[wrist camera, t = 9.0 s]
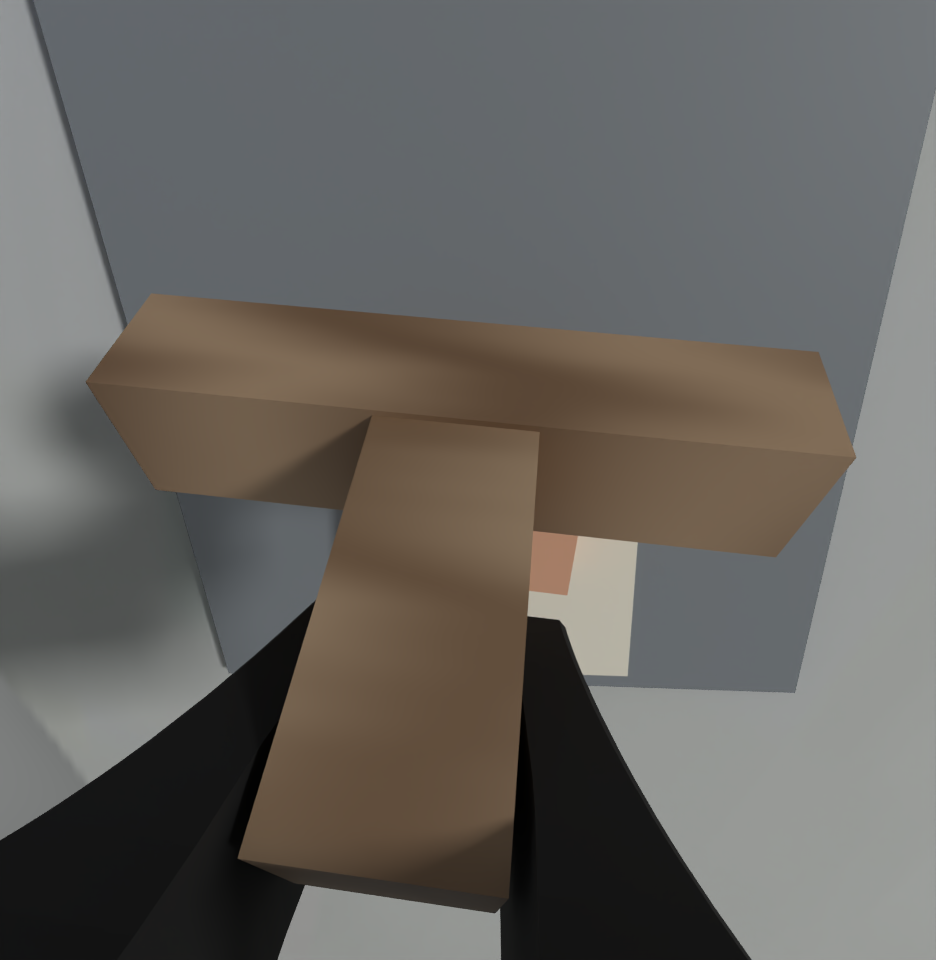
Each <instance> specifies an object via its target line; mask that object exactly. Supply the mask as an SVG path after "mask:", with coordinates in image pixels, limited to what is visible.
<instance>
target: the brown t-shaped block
mask: <svg viewBox="0 0 936 960" xmlns="http://www.w3.org/2000/svg"><path fill="white" fill-rule="evenodd" d="M86 384H87V385H88V387H89V388H90V390H91V391H92V393H93V394H94V396H95V397H96V399H97V400H98V402H99V404H100V405H101V407H102V408H103V410H104V411H105V413H106V414H107V416H108V417H109V419H110V420H111V422H112V423H113V425H114V427H115V428H116V430H117V431H118V433H119V434H120V436H121V437H122V439H123V440H124V442H125V443H126V445H127V446H128V448H129V450H130V451H131V453H132V454H133V456H134V457H135V459H136V460H137V462H138V463H139V465H140V466H141V468H142V470H143V471H144V473H145V474H146V476H147V477H148V479H149V480H150V482H151V483H152V485H153V486H154V488H155V489H156V490H162V491H171V492H180V493H190V494H199V495H208V496H217V497H226V498H235V499H245V500H254V501H263V502H272V503H281V504H290V505H300V506H309V507H318V508H327V509H336V510H343V513H342V516H341V519H340V523H339V526H338V529H337V532H336V536H335V539H334V542H333V546H332V549H331V552H330V555H329V559H328V562H327V565H326V569H325V572H324V575H323V578H322V582H321V585H320V588H319V592H318V595H317V598H316V601H315V605H314V608H313V611H312V615H311V618H310V621H309V625H308V628H307V631H306V634H305V638H304V641H303V644H302V648H301V651H300V654H299V657H298V661H297V664H296V667H295V671H294V674H293V677H292V680H291V684H290V687H289V690H288V694H287V697H286V700H285V703H284V707H283V710H282V713H281V717H280V720H279V723H278V726H277V730H276V733H275V736H274V740H273V743H272V746H271V749H270V753H269V756H268V759H267V763H266V766H265V769H264V773H263V776H262V779H261V782H260V786H259V789H258V792H257V796H256V799H255V802H254V805H253V809H252V812H251V815H250V819H249V822H248V825H247V828H246V832H245V835H244V838H243V842H242V845H241V848H240V851H239V855H238V858H237V859H240V860H242V861H244V862H247V863H249V864H251V865H254V866H256V867H258V868H260V869H263V870H265V871H267V872H270V873H272V874H274V875H277V876H279V877H281V878H284V879H286V880H288V881H291V882H293V883H296V884H303V885H310V886H316V887H323V888H330V889H336V890H343V891H350V892H356V893H363V894H369V895H376V896H383V897H389V898H396V899H403V900H409V901H416V902H423V903H429V904H436V905H443V906H449V907H456V908H463V909H469V910H476V911H483V912H489V913H496V912H497V911H498V910H499V909H500V907H501V906H502V905H503V904H504V903H505V902H506V901H507V900H508V899H509V886H510V871H511V856H512V841H513V826H514V811H515V796H516V781H517V766H518V751H519V736H520V721H521V706H522V691H523V676H524V661H525V646H526V630H527V615H528V600H529V585H530V570H531V555H532V540H533V531H538V532H547V533H556V534H565V535H574V536H584V537H593V538H602V539H611V540H620V541H629V542H638V543H648V544H657V545H666V546H675V547H684V548H693V549H703V550H712V551H721V552H730V553H739V554H748V555H758V556H767V557H777V556H778V554H779V553H780V552H781V551H782V549H783V548H784V547H785V546H786V544H787V543H788V542H789V541H790V539H791V538H792V537H793V536H794V534H795V533H796V532H797V531H798V529H799V528H800V527H801V526H802V524H803V523H804V522H805V521H806V519H807V518H808V517H809V516H810V514H811V513H812V512H813V511H814V510H815V508H816V507H817V506H818V505H819V503H820V502H821V501H822V500H823V498H824V497H825V496H826V495H827V493H828V492H829V491H830V490H831V488H832V487H833V486H834V485H835V483H836V482H837V481H838V480H839V478H840V477H841V476H842V475H843V473H844V472H845V471H846V470H847V468H848V467H849V466H850V465H851V464H852V462H853V461H854V460H855V459H856V455H855V453H854V450H853V447H852V444H851V441H850V439H849V436H848V433H847V430H846V427H845V425H844V422H843V419H842V416H841V413H840V411H839V408H838V405H837V402H836V399H835V397H834V394H833V391H832V388H831V385H830V382H829V380H828V377H827V374H826V371H825V368H824V366H823V363H822V360H821V357H820V354H819V352H813V351H802V350H791V349H779V348H768V347H756V346H745V345H734V344H722V343H711V342H699V341H688V340H677V339H665V338H654V337H642V336H631V335H619V334H608V333H597V332H585V331H574V330H562V329H551V328H540V327H528V326H517V325H505V324H494V323H483V322H471V321H460V320H448V319H437V318H426V317H414V316H403V315H391V314H380V313H368V312H357V311H346V310H334V309H323V308H311V307H300V306H289V305H277V304H266V303H254V302H243V301H232V300H220V299H209V298H197V297H186V296H175V295H163V294H152V293H151V294H150V296H149V297H148V298H147V300H146V301H145V302H144V304H143V305H142V307H141V308H140V309H139V311H138V312H137V313H136V315H135V316H134V317H133V319H132V320H131V321H130V323H129V324H128V325H127V327H126V328H125V329H124V331H123V332H122V333H121V335H120V336H119V338H118V339H117V340H116V342H115V343H114V344H113V346H112V347H111V348H110V350H109V351H108V352H107V354H106V355H105V356H104V358H103V359H102V360H101V362H100V363H99V364H98V366H97V367H96V368H95V370H94V371H93V373H92V374H91V375H90V377H89V378H88V379H87V381H86Z"/></svg>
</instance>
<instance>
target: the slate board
mask: <svg viewBox="0 0 936 960" xmlns="http://www.w3.org/2000/svg"><path fill="white" fill-rule="evenodd" d="M33 1H34V4H35V8H36V11H37V15H38V18H39V22H40V25H41V29H42V32H43V35H44V39H45V42H46V46H47V49H48V53H49V56H50V59H51V63H52V66H53V70H54V73H55V77H56V80H57V84H58V87H59V90H60V94H61V97H62V101H63V104H64V108H65V111H66V115H67V118H68V121H69V125H70V128H71V132H72V135H73V139H74V142H75V146H76V149H77V152H78V156H79V159H80V163H81V166H82V170H83V173H84V176H85V180H86V183H87V187H88V190H89V194H90V197H91V201H92V204H93V207H94V211H95V214H96V218H97V221H98V225H99V228H100V232H101V235H102V238H103V242H104V245H105V249H106V252H107V256H108V259H109V263H110V266H111V269H112V273H113V276H114V280H115V283H116V287H117V290H118V293H119V297H120V300H121V304H122V307H123V311H124V314H125V318H126V321H127V324H129V323H130V321H131V320H132V319H133V317H134V316H135V315H136V313H137V312H138V311H139V309H140V308H141V307H142V305H143V304H144V302H145V301H146V300H147V298H148V297H149V296H150V294H151V293H152V294H163V295H175V296H186V297H197V298H209V299H220V300H232V301H243V302H254V303H266V304H277V305H289V306H300V307H311V308H323V309H334V310H346V311H357V312H368V313H380V314H391V315H403V316H414V317H426V318H437V319H448V320H460V321H471V322H483V323H494V324H505V325H517V326H528V327H540V328H551V329H562V330H574V331H585V332H597V333H608V334H619V335H631V336H642V337H654V338H665V339H677V340H688V341H699V342H711V343H722V344H734V345H745V346H756V347H768V348H779V349H791V350H802V351H813V352H819V354H820V357H821V360H822V363H823V366H824V368H825V371H826V374H827V377H828V380H829V382H830V385H831V388H832V391H833V394H834V397H835V399H836V402H837V405H838V408H839V411H840V413H841V416H842V419H843V422H844V425H845V427H846V430H847V433H848V436H849V439H850V441H851V444H852V446H853V442H854V437H855V433H856V429H857V424H858V420H859V416H860V412H861V407H862V403H863V399H864V394H865V390H866V386H867V382H868V377H869V373H870V369H871V364H872V360H873V356H874V352H875V347H876V343H877V339H878V334H879V330H880V326H881V322H882V317H883V313H884V309H885V304H886V300H887V296H888V292H889V287H890V283H891V279H892V274H893V270H894V266H895V262H896V257H897V253H898V249H899V244H900V240H901V236H902V231H903V227H904V223H905V219H906V214H907V210H908V206H909V201H910V197H911V193H912V189H913V184H914V180H915V176H916V171H917V167H918V163H919V159H920V154H921V150H922V146H923V141H924V137H925V133H926V129H927V124H928V120H929V116H930V111H931V107H932V103H933V99H934V94H935V90H936V0H33ZM846 472H847V470H846V471H845V472H844V473H843V475H842V476H841V477H840V478H839V480H838V481H837V482H836V483H835V485H834V486H833V487H832V488H831V490H830V491H829V492H828V493H827V495H826V496H825V497H824V498H823V500H822V501H821V502H820V503H819V505H818V506H817V507H816V508H815V510H814V511H813V512H812V513H811V514H810V516H809V517H808V518H807V519H806V521H805V522H804V523H803V524H802V526H801V527H800V528H799V529H798V531H797V532H796V533H795V534H794V536H793V537H792V538H791V539H790V541H789V542H788V543H787V544H786V546H785V547H784V548H783V549H782V551H781V552H780V553H779V554H778V556H777V557H767V556H758V555H748V554H739V553H730V552H721V551H712V550H703V549H693V548H684V547H675V546H666V545H657V544H648V543H638V542H629V541H620V540H611V539H602V538H593V537H584V536H578V538H577V544H576V550H575V555H574V561H573V567H572V572H571V578H570V583H569V589H568V595H559V594H551V593H543V592H534V591H529V600H528V615H527V616H531V617H539V618H548V619H556V620H560V622H561V623H562V624H563V625H564V626H565V627H566V631H567V634H568V637H569V640H570V643H571V646H572V649H573V651H574V654H575V657H576V659H577V662H578V664H579V667H580V669H581V672H582V674H583V676H584V678H585V681H586V683H587V685H588V686H614V687H643V688H672V689H701V690H730V691H759V692H788V693H795V690H796V686H797V682H798V678H799V673H800V669H801V665H802V660H803V656H804V652H805V647H806V643H807V639H808V635H809V630H810V626H811V622H812V617H813V613H814V609H815V605H816V600H817V596H818V592H819V587H820V583H821V579H822V575H823V570H824V566H825V562H826V557H827V553H828V549H829V545H830V540H831V536H832V532H833V527H834V523H835V519H836V515H837V510H838V506H839V502H840V497H841V493H842V489H843V485H844V480H845V476H846ZM176 493H177V496H178V500H179V503H180V507H181V510H182V514H183V517H184V521H185V524H186V527H187V531H188V534H189V538H190V541H191V545H192V548H193V552H194V555H195V558H196V562H197V565H198V569H199V572H200V576H201V579H202V583H203V586H204V589H205V593H206V596H207V600H208V603H209V607H210V610H211V613H212V617H213V620H214V624H215V627H216V631H217V634H218V638H219V641H220V644H221V648H222V651H223V655H224V658H225V662H226V665H227V669H228V672H229V673H234V672H235V671H237V670H238V669H239V668H240V667H241V666H242V665H244V664H245V663H246V662H247V661H248V660H249V659H251V658H252V657H253V656H254V655H255V654H256V653H258V652H259V651H260V650H261V649H262V648H263V647H264V646H265V645H267V644H268V643H269V642H270V641H271V640H272V639H273V638H274V637H276V636H277V635H278V634H279V633H280V632H281V631H282V630H283V629H284V628H286V627H287V626H288V625H289V624H290V623H291V622H292V621H293V620H294V619H295V618H296V617H298V616H299V615H300V614H301V613H302V612H303V611H304V610H305V609H306V608H307V607H309V606H310V605H311V604H312V603H313V602H314V601H315V600H316V598H317V595H318V592H319V588H320V585H321V582H322V578H323V575H324V572H325V569H326V565H327V562H328V559H329V555H330V552H331V549H332V546H333V542H334V539H335V536H336V532H337V529H338V526H339V523H340V519H341V516H342V513H343V510H336V509H327V508H318V507H309V506H300V505H290V504H281V503H272V502H263V501H254V500H245V499H235V498H226V497H217V496H208V495H199V494H190V493H180V492H176Z"/></svg>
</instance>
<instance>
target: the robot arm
mask: <svg viewBox="0 0 936 960" xmlns="http://www.w3.org/2000/svg"><path fill="white" fill-rule="evenodd" d="M315 601H316V600H315ZM315 601H314V602H313V603H312V604H311V605H310V606H309V607H307V608H306V609H305V610H304V611H303V612H302V613H301V614H300V615H299V616H298V617H296V618H295V619H294V620H293V621H292V622H291V623H290V624H289V625H288V626H287V627H286V628H284V629H283V630H282V631H281V632H280V633H279V634H278V635H277V636H276V637H274V638H273V639H272V640H271V641H270V642H269V643H268V644H267V645H265V646H264V647H263V648H262V649H261V650H260V651H259V652H258V653H256V654H255V655H254V656H253V657H252V658H251V659H249V660H248V661H247V662H246V663H245V664H244V665H242V666H241V667H240V668H239V669H238V670H237V671H235V672H234V673H233V674H232V675H231V676H229V677H228V678H227V679H226V680H225V681H224V682H222V683H221V684H220V685H219V686H218V687H217V688H215V689H214V690H213V691H212V692H211V693H209V694H208V695H207V696H206V697H204V698H203V699H202V700H201V701H199V702H198V703H197V704H195V705H194V706H193V707H192V708H190V709H189V710H188V711H186V712H185V713H184V714H183V715H181V716H180V717H179V718H178V719H176V720H175V721H174V722H172V723H171V724H170V725H169V726H167V727H166V728H165V729H163V730H162V731H161V732H160V733H158V734H157V735H156V736H154V737H153V738H152V739H151V740H149V741H148V742H147V743H145V744H144V745H142V746H141V747H140V748H138V749H137V750H136V751H134V752H133V753H132V754H130V755H129V756H127V757H126V758H125V759H123V760H122V761H120V762H119V763H118V764H116V765H115V766H113V767H112V768H111V769H109V770H108V771H106V772H105V773H104V774H102V775H101V776H99V777H98V778H96V779H95V780H93V781H92V782H90V783H89V784H87V785H86V786H85V787H83V788H82V789H80V790H79V791H77V792H76V793H74V794H73V795H71V796H70V797H68V798H67V799H65V800H64V801H62V802H61V803H59V804H58V805H56V806H55V807H53V808H52V809H50V810H49V811H47V812H46V813H44V814H42V815H41V816H39V817H38V818H36V819H34V820H33V821H31V822H30V823H28V824H26V825H25V826H23V827H22V828H20V829H18V830H17V831H15V832H13V833H12V834H10V835H8V836H7V837H5V838H3V839H2V840H0V960H277V959H278V956H279V953H280V950H281V948H282V945H283V942H284V939H285V936H286V933H287V930H288V928H289V925H290V923H291V920H292V917H293V915H294V912H295V910H296V907H297V904H298V902H299V899H300V897H301V894H302V891H303V889H304V886H305V885H303V884H296V883H293V882H291V881H288V880H286V879H284V878H281V877H279V876H277V875H274V874H272V873H270V872H267V871H265V870H263V869H260V868H258V867H256V866H254V865H251V864H249V863H247V862H244V861H242V860H240V859H237V858H238V855H239V851H240V848H241V845H242V842H243V838H244V835H245V832H246V828H247V825H248V822H249V819H250V815H251V812H252V809H253V805H254V802H255V799H256V796H257V792H258V789H259V786H260V782H261V779H262V776H263V773H264V769H265V766H266V763H267V759H268V756H269V753H270V749H271V746H272V743H273V740H274V736H275V733H276V730H277V726H278V723H279V720H280V717H281V713H282V710H283V707H284V703H285V700H286V697H287V694H288V690H289V687H290V684H291V680H292V677H293V674H294V671H295V667H296V664H297V661H298V657H299V654H300V651H301V648H302V644H303V641H304V638H305V634H306V631H307V628H308V625H309V621H310V618H311V615H312V611H313V608H314V605H315ZM500 919H501V960H751V958H750V957H749V956H748V954H747V953H746V951H745V950H744V948H743V947H742V946H741V944H740V943H739V941H738V940H737V938H736V937H735V936H734V934H733V933H732V931H731V930H730V929H729V927H728V926H727V924H726V923H725V921H724V920H723V919H722V917H721V916H720V914H719V913H718V912H717V910H716V909H715V907H714V906H713V904H712V903H711V901H710V900H709V898H708V897H707V895H706V894H705V892H704V891H703V889H702V888H701V886H700V885H699V883H698V882H697V880H696V879H695V877H694V876H693V874H692V873H691V871H690V870H689V868H688V867H687V865H686V864H685V862H684V861H683V859H682V857H681V856H680V854H679V853H678V851H677V849H676V848H675V846H674V845H673V843H672V842H671V840H670V838H669V837H668V835H667V833H666V832H665V830H664V828H663V827H662V825H661V824H660V822H659V820H658V819H657V817H656V815H655V814H654V812H653V810H652V808H651V807H650V805H649V803H648V801H647V800H646V798H645V796H644V795H643V793H642V791H641V789H640V788H639V786H638V784H637V782H636V781H635V779H634V777H633V775H632V773H631V772H630V770H629V768H628V766H627V764H626V762H625V761H624V759H623V757H622V755H621V753H620V751H619V749H618V747H617V745H616V743H615V741H614V739H613V737H612V735H611V733H610V731H609V729H608V727H607V725H606V723H605V721H604V720H603V718H602V716H601V714H600V712H599V709H598V707H597V705H596V703H595V701H594V699H593V697H592V694H591V692H590V690H589V688H588V685H587V683H586V681H585V678H584V676H583V674H582V672H581V669H580V667H579V664H578V662H577V659H576V657H575V654H574V651H573V649H572V646H571V643H570V640H569V637H568V634H567V631H566V627H565V626H564V625H563V624H562V623H561V622H560V620H556V619H548V618H539V617H531V616H527V630H526V646H525V661H524V676H523V691H522V706H521V721H520V736H519V751H518V766H517V781H516V796H515V811H514V826H513V841H512V856H511V871H510V886H509V899H508V900H507V901H506V902H505V903H504V904H503V905H502V906H501V907H500Z"/></svg>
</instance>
